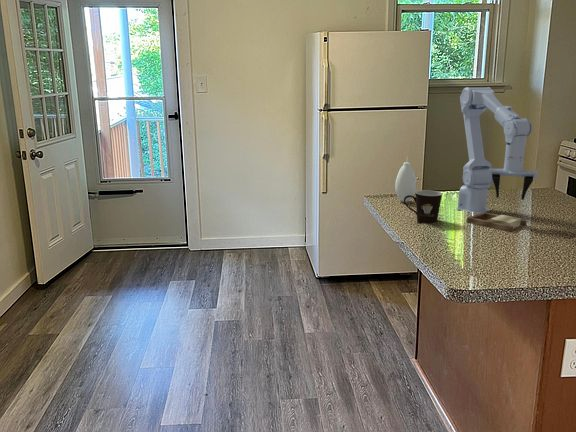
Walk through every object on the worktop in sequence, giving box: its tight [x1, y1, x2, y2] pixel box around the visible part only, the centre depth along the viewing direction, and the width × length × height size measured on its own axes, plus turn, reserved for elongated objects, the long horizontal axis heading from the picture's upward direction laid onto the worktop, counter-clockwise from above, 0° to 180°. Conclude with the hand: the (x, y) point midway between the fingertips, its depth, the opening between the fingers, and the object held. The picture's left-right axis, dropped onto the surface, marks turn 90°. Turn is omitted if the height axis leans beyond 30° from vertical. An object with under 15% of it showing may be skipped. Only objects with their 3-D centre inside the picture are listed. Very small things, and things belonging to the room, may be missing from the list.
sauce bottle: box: [394, 155, 417, 203], centre depth 208 cm, size 8×8×18 cm
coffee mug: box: [403, 189, 443, 224], centre depth 181 cm, size 12×9×10 cm
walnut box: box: [466, 211, 528, 233], centre depth 177 cm, size 15×11×2 cm
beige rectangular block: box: [490, 214, 522, 228], centre depth 175 cm, size 6×8×2 cm
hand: (509, 198), depth 177 cm, fingers open, 7 cm apart
